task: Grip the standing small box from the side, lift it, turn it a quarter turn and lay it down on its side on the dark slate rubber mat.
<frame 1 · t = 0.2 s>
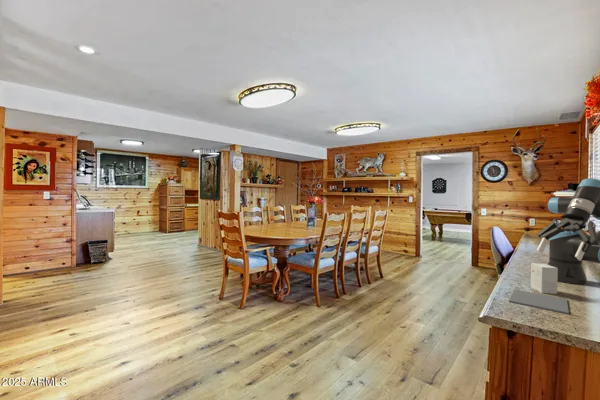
hand: (557, 255, 117), 15 cm above the countertop, tool tilted 35°, fingers open, 13 cm apart
slate mat: (538, 301, 108), on the countertop
small box: (543, 291, 121), on the countertop
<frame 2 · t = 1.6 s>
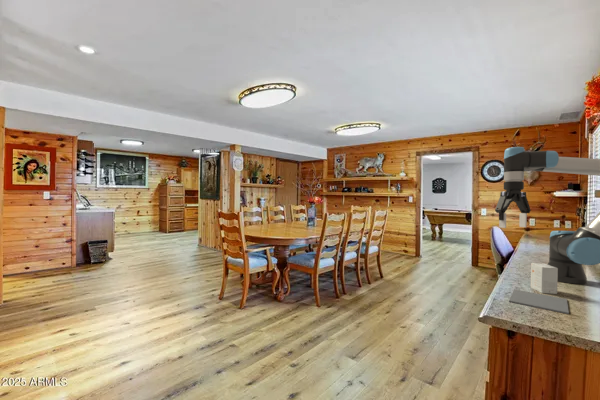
hand: (512, 227, 135), 24 cm above the countertop, tool pointing down, fingers open, 13 cm apart
nothing on the countertop moved.
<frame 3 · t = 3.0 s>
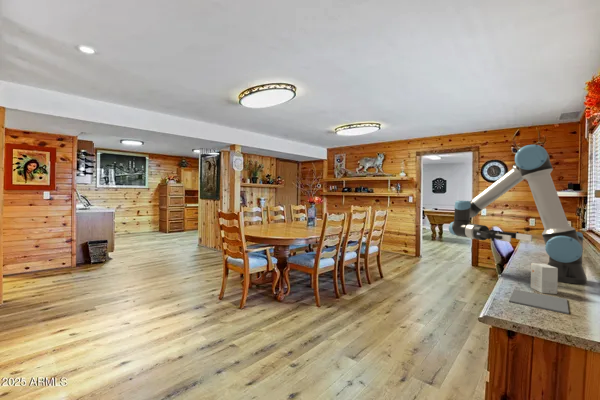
hand: (521, 238, 130), 20 cm above the countertop, tool horizontal, fingers open, 13 cm apart
nothing on the countertop moved.
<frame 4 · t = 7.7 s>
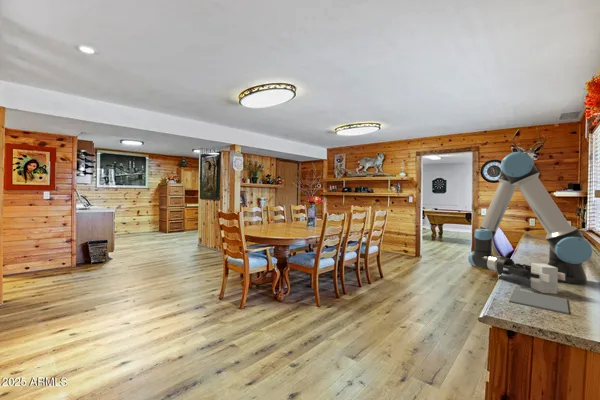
hand: (556, 277, 116), 7 cm above the countertop, tool horizontal, fingers closed on small box, 9 cm apart
small box: (543, 291, 121), on the countertop, touching gripper
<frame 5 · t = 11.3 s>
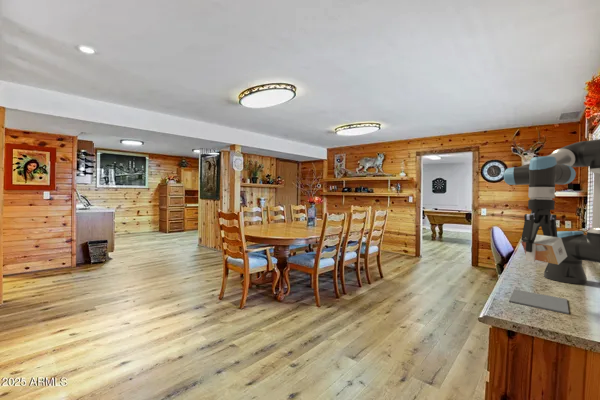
hand: (539, 260, 108), 15 cm above the countertop, tool pointing down, fingers closed on small box, 9 cm apart
small box: (560, 251, 102), point 20 cm above the countertop, touching gripper
when the fingers open (2 cm above the countertop, at t = 13.7 s): small box drops 2 cm, point 5 cm above the countertop.
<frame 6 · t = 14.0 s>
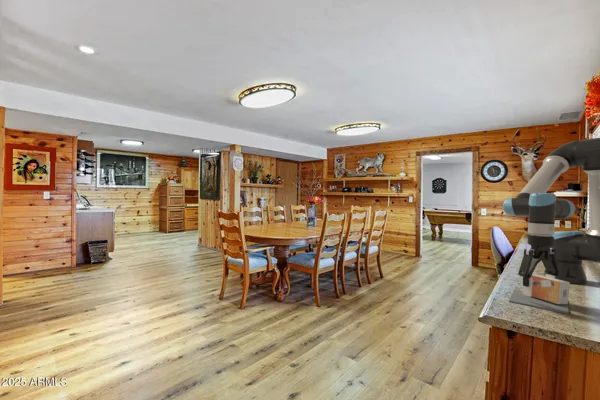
hand: (538, 293, 108), 3 cm above the countertop, tool pointing down, fingers open, 11 cm apart
small box: (565, 293, 103), point 5 cm above the countertop, touching gripper
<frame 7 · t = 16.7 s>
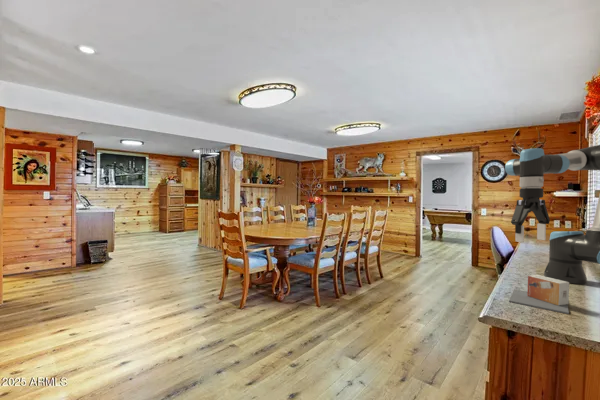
hand: (530, 240, 118), 21 cm above the countertop, tool pointing down, fingers open, 13 cm apart
small box: (565, 294, 103), point 5 cm above the countertop, touching slate mat
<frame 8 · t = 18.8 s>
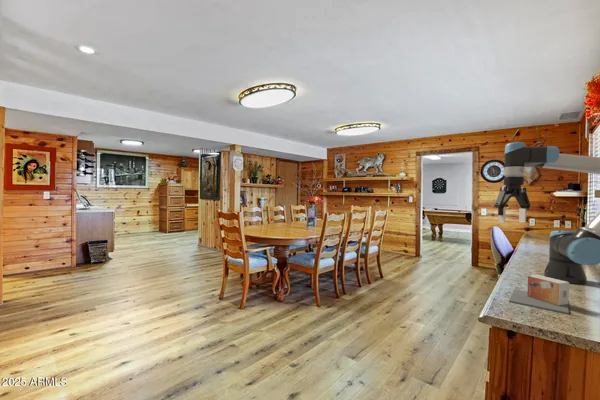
hand: (512, 222, 135), 27 cm above the countertop, tool pointing down, fingers open, 13 cm apart
nothing on the countertop moved.
at the end: small box tilted 91°; small box inside the target area on the slate mat (3.2 cm from its centre), point 4.5 cm above the slate mat's base; the gripper is holding nothing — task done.
